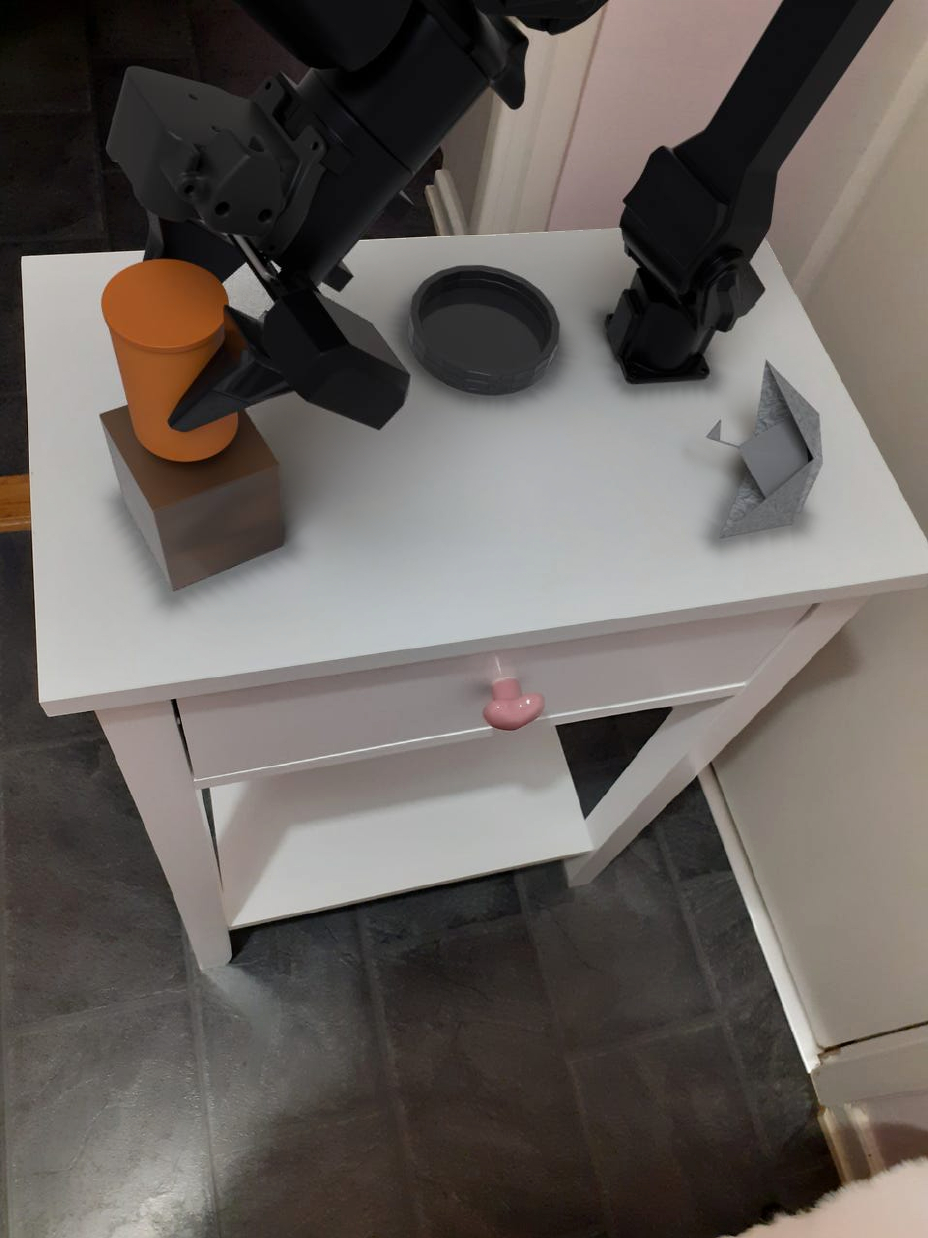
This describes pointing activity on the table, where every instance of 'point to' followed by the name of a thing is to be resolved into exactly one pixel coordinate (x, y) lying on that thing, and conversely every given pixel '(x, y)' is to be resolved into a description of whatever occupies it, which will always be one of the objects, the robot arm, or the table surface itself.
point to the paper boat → (776, 459)
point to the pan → (482, 329)
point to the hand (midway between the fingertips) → (151, 386)
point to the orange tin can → (167, 350)
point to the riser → (199, 500)
